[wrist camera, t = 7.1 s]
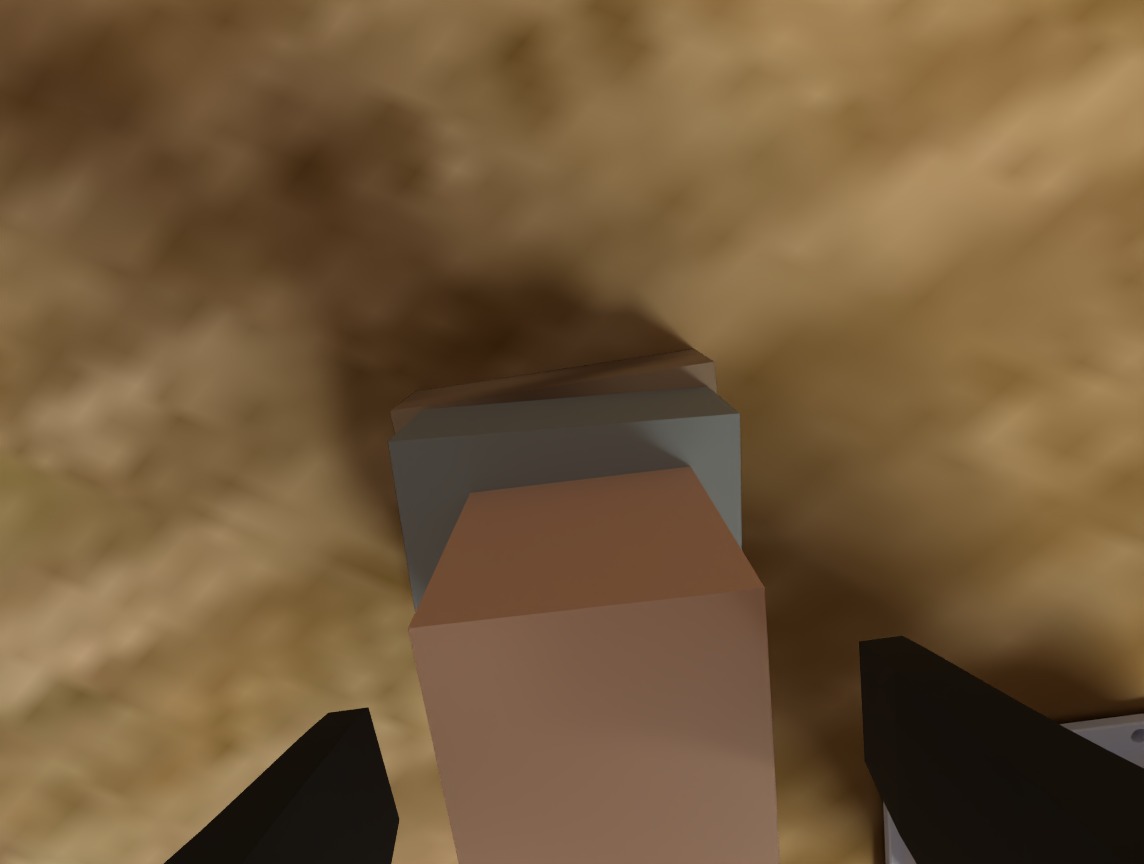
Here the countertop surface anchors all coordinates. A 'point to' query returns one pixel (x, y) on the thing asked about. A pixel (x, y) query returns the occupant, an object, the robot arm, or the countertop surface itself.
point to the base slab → (570, 383)
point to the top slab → (555, 455)
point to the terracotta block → (599, 678)
